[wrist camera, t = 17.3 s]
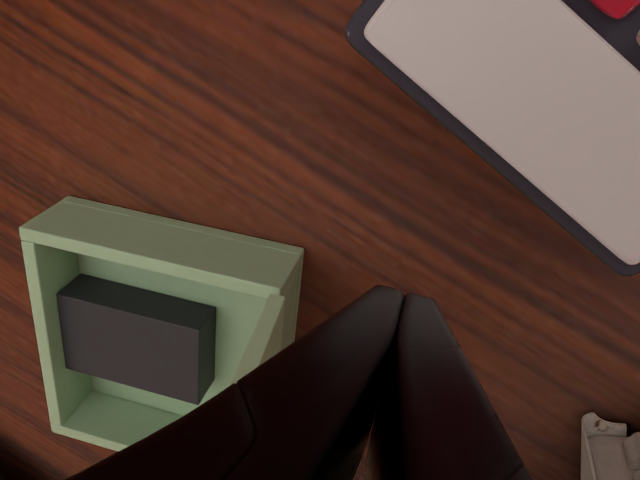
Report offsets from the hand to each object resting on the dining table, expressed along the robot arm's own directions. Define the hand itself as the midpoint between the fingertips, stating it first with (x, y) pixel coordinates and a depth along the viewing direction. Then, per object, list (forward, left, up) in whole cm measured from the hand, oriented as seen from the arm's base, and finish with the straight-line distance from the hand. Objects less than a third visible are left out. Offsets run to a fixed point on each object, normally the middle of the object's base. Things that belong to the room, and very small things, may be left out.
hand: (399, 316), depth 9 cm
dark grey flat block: (-13, +11, -12) cm, 21 cm away
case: (-13, +10, -13) cm, 21 cm away
